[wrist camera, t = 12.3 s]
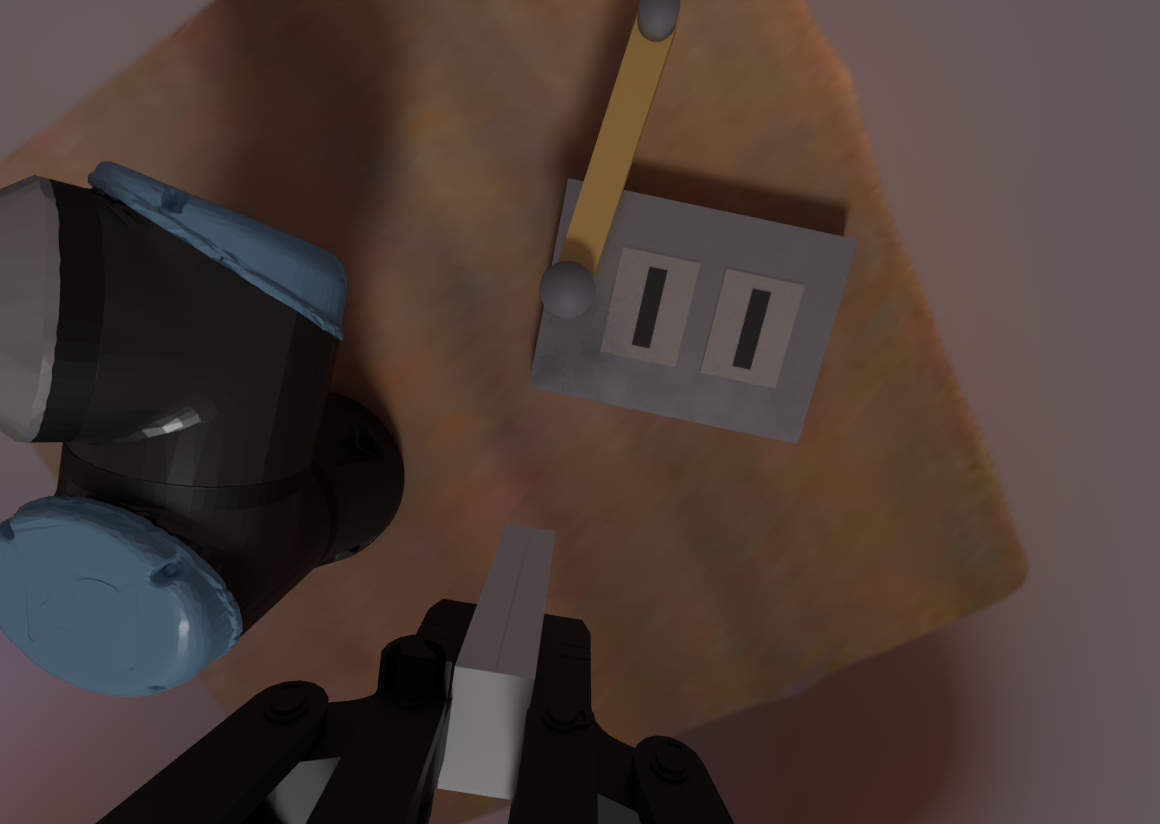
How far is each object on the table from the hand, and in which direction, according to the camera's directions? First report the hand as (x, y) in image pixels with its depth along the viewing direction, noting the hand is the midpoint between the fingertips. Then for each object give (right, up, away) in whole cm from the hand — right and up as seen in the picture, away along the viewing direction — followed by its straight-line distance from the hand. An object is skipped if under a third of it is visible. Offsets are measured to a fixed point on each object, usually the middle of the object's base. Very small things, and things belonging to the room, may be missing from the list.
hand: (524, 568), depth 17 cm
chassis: (+10, +13, +28) cm, 32 cm away
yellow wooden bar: (+4, +21, +21) cm, 30 cm away
